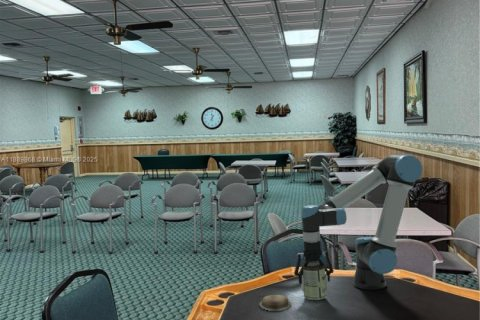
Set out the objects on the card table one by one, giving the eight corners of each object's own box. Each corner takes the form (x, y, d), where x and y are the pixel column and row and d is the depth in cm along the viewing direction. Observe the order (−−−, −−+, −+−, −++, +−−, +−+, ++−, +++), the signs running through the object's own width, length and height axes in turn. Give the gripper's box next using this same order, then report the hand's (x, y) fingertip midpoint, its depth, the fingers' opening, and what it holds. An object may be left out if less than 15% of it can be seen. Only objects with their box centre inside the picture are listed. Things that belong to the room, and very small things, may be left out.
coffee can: (305, 291, 202) (303, 261, 201) (327, 292, 199) (325, 261, 198) (302, 299, 192) (300, 268, 191) (325, 300, 189) (323, 268, 188)
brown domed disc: (288, 298, 198) (288, 292, 198) (293, 310, 184) (293, 304, 184) (257, 300, 197) (257, 294, 197) (260, 312, 183) (260, 306, 183)
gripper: (334, 236, 199) (337, 284, 200) (285, 240, 198) (288, 288, 199) (339, 240, 191) (342, 290, 192) (287, 244, 190) (291, 294, 191)
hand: (314, 289), depth 195 cm, fingers closed on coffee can, 10 cm apart
